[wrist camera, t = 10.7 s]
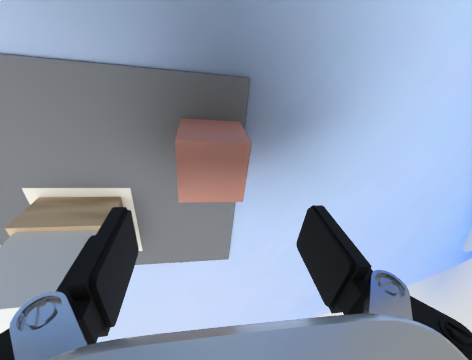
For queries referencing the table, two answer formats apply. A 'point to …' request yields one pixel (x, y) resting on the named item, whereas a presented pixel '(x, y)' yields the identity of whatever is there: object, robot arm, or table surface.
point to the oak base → (64, 214)
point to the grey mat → (113, 146)
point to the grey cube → (35, 266)
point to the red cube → (211, 160)
